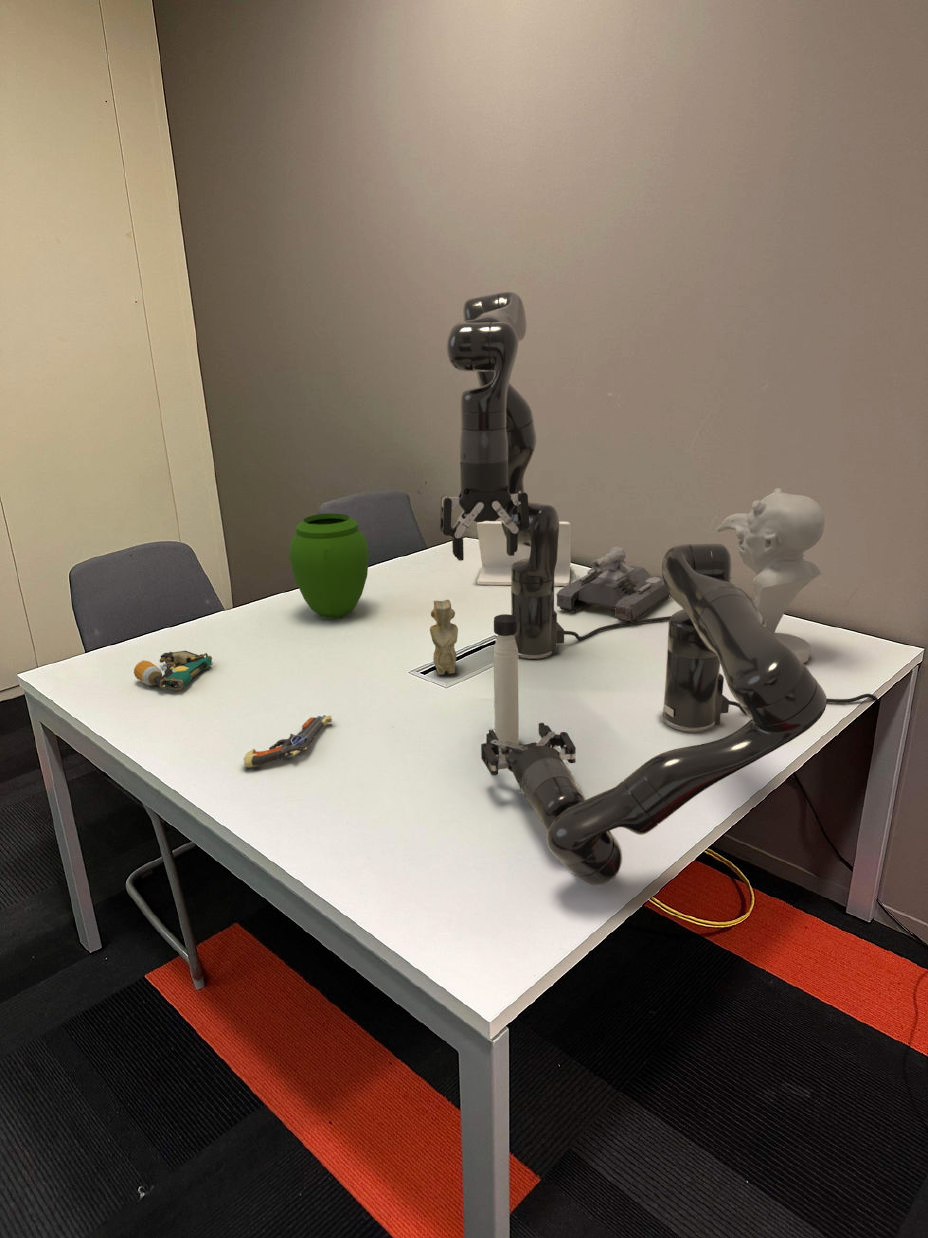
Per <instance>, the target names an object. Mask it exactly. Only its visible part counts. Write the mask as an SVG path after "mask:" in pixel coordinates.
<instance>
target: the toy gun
mask: <svg viewBox="0 0 928 1238" xmlns="http://www.w3.org/2000/svg"><path fill="white" fill-rule="evenodd" d="M332 720H333V717H332V716H331V715H325V714H324V715H322V716H321V715H318V716H315V717H313V716H311V717H309V718H308V719H307V720H306V721H305V722H304V723H303V724H302V725H301V731H299V732H298V733H297V734H294V733H290V735H289V737H288V738H281V739H279V740H278V741H276V742H275V743H274V744H272V745H271V746H270V747H268V749H267V750H261V751H256V749H255V748H253V749H250V750H249V751H248V752H247V753H245V755H244V756H243V762H244V768H249V769H250V768H254V767H257V766H260V765H265V764H269V763H271V762H274V761H278V760H281V759H285V758H288V757H290V756H292V757H294V756H296V755H298V754H300V753H301V752H304V751H305V750H307V749H308V748H309V747H310V746H311V744H312V743H313V742H314V740H315V738H316V736H317V735H318V734H319V733H320V731H322V730H323V728H324V727H326V725H327V724H329V723H332Z"/></svg>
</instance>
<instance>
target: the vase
mask: <svg viewBox="0 0 928 1238" xmlns="http://www.w3.org/2000/svg"><path fill="white" fill-rule="evenodd" d="M358 524H359V523H358V521H356V520H355V519H353V518H352V517H350V516H349V515H347V514H344V513H335V512H334V513H333V512H331V513H320V514H313V515H310V516H307V517H305V518H303V519H302V520H301V521H300V522H299V523H298V524H297V525H296V526H295V532H296V533H295V534H294V536H293V537H292V538H291V540H290V542H289V551H288V559H289V564H290V566H291V567H290V568H291V570H292V575H293V578H294V581H295V584H296V586H297V587H298V589H299V591H300V593H301V596H302V597H303V600H304V601H305V603H306V604H307V605H308V607H309V608H310V609H311V611H312V612H314V613H315V614H316V615H317V616H318V617H320V618H324V619H326V620H327V619H329V620H336V619H341V618H345V617H347V616H349V615H350V614H351V613H352V612H353V611H354V610H355V608H356V607H357V605H358V604H359V601H360V599H361V597H362V595H363V592H364V588H365V586H366V581H367V578H368V570H369V561H370V560H369V559H370V548H369V545H368V541H367V537H366V535H365V534H364V533H363V532H362V531H361V530H360V529H359V527H358Z"/></svg>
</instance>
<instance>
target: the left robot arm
mask: <svg viewBox="0 0 928 1238" xmlns="http://www.w3.org/2000/svg"><path fill="white" fill-rule="evenodd" d="M462 310H463V312H462V313H463V320H462V321H460V322H458V323H456V324H455V325H454V326H453V327H452V328H451V330H450V331H449V334H448V337H447V341H446V354H447V358H448V360H449V362H450V364H451V365H452V367H454V369H455V370H458V371H460V372H466V373H469V372H470V373H471V372H472V373H473V372H474V373H475V372H476V376H477V380H478V386H476V387H472V388H467V389H465V390H464V391H463V392H462V393H461V395H460V438H459V465H460V466H459V468H460V469H459V470H460V471H459V472H460V474H459V475H460V493H459V495H458V496H448V495H445V494H444V495H442V496H441V498H440V516H439V517H440V518H439V519H440V520H439V521H440V522H439V530H440V532H441V533H442V534H443V535H444V536H447V537H448V536H449V537H451V538H452V539H451V544H452V545H451V548H452V554H453V556H454V557H455V558H456V559H457V561H459V562H460V561H461V562H462V561H464V560H465V559H464V538H463V537H462V536H464V533H465V532H466V531H467V529H469V528H470V527H471V525H472V524H473V522H476V524H477V523H478V522H484V521H498V520H499V521H501V523H502V528H503V532H504V535H505V537H506V542H507V554H508V555H509V556H514V552H517V550H518V545H523V546H528V547H531V550H530V558H526V559H522V560H519V561H516V562H515V563H513V565H512V567H511V585H510V588H511V589H510V597H511V599H510V603H511V604H510V606H511V607H510V609H511V610H510V615H514V616H516V617H517V633H516V634H514V635H513V636H514V637H515V640H516V644H517V648H518V658H521V659H525V660H526V659H527V660H540V659H545V658H548V657H550V656H552V655H557V654H558V653H557V650H558V649H557V648H558V647H557V645H558V644H559V645H560V644H561V645H562V644H565V636H574V637H575V639H576V640H577V641H584V640H586V639H589V638H590V637H592V636H594V635H596V634H597V633H600V632H602V631H606V630H609V629H614V628H615V629H616V628H620V627H625V626H632V625H637V624H645V623H646V624H647V623H654V622H661V621H669V620H670V617H671V616H672V615H668V616H661V617H653V618H643V619H638V620H635V621H633V623H632V622H625V621H622V622H618V623H612V624H608V625H603V626H601V627H598V628H595V629H594V630H592V631H590V632H588V633H587V634H585V635H583V636H580V635H579V633H577V632H576V631H571V630H565V629H564V628H563V626H561V625H560V623H559V622H558V613H557V612H556V611H555V586H554V572H555V567H556V563H557V555H558V539H559V522H560V520H559V518H560V517H559V514H558V511H557V509H556V508H555V507H554V506H553V505H551V504H547V503H541V502H540V503H539V502H532V501H529V495H528V493H527V492H525V486H524V479H525V474H526V471H527V469H528V467H529V464H530V462H531V460H532V457H533V455H534V452H535V451H536V446H537V434H536V427H535V422H534V416H533V411H532V408H531V406H530V404H529V403H528V401H526V399H525V398H524V397H523V396H522V394H520V392H519V391H518V390H517V389H516V388H515V387H514V386H513V385H512V384H511V383H510V380H511V376H512V372H513V369H514V366H515V362H516V358H517V354H518V350H519V342H521V341H523V340H524V338H525V336H526V333H527V315H526V311H525V305H524V302H523V300H522V298H521V297H520V295H519V294H518V293H517V292H514V291H503V292H496V293H492V294H486V295H481V296H480V295H479V296H476V297H471V298H469V299H467V300H466V301H465V302H464V304H463V308H462ZM457 505H459V506H460V507H461V509H462V510H463V511H462V512H460V513H461V514H459V516H458V517H457V521H456V522H455V524H454V525H453V526H452V513H453V512H454V511H455V510H456V507H457Z"/></svg>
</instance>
